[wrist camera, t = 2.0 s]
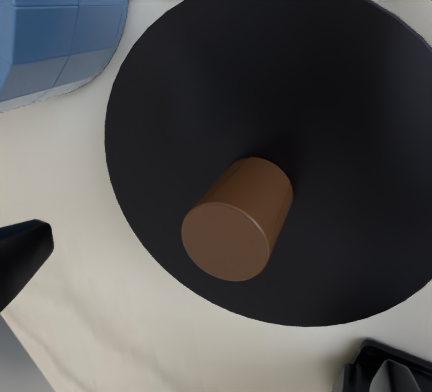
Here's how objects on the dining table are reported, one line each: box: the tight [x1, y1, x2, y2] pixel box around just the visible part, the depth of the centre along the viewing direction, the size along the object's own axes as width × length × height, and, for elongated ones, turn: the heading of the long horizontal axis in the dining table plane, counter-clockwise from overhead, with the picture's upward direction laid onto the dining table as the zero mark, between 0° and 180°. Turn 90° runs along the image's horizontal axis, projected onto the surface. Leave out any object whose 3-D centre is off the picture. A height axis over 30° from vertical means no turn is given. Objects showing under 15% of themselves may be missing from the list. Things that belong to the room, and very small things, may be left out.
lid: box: [105, 0, 432, 327], centre depth 12 cm, size 14×14×5 cm
